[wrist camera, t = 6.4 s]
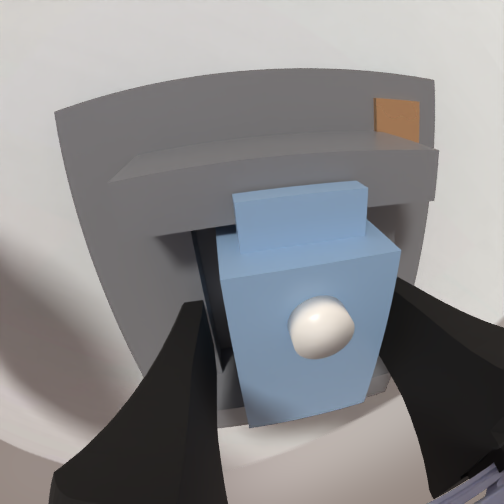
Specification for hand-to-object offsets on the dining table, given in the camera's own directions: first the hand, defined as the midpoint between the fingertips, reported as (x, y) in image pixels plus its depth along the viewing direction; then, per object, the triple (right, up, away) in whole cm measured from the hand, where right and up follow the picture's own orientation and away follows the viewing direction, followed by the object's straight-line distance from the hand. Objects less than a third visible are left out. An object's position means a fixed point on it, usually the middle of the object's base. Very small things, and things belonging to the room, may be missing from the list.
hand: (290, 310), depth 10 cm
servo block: (0, +1, +2) cm, 2 cm away
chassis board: (0, +2, +3) cm, 3 cm away
